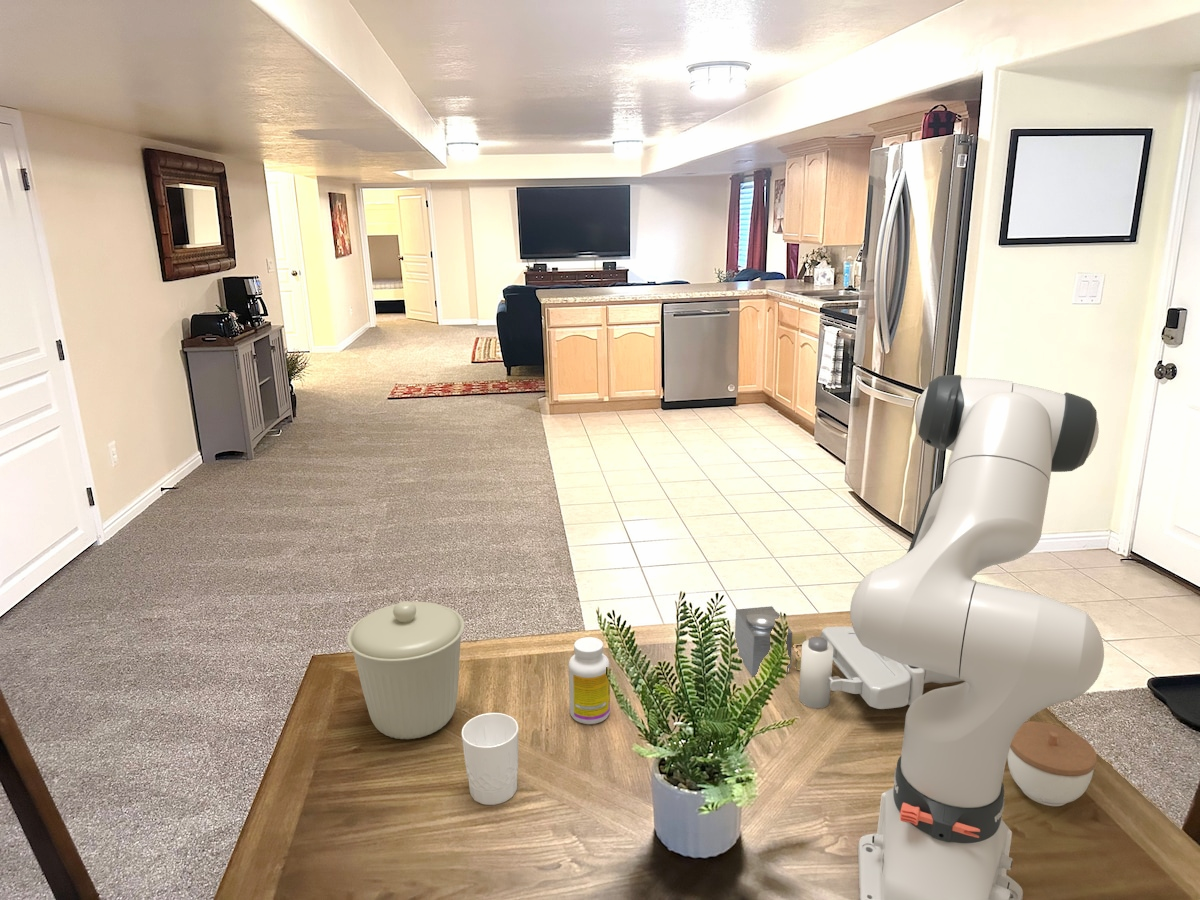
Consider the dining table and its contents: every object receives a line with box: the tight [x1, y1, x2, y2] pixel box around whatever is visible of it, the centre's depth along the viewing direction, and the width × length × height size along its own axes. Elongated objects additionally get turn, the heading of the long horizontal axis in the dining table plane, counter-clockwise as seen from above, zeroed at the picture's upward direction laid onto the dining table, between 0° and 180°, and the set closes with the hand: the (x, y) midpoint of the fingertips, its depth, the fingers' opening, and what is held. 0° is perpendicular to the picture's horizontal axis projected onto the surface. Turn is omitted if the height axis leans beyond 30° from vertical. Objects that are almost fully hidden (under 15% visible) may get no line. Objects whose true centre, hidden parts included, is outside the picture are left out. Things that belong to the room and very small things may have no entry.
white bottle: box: [798, 636, 834, 710], centre depth 133 cm, size 5×5×11 cm
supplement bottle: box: [568, 636, 611, 725], centre depth 130 cm, size 7×7×13 cm
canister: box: [346, 600, 466, 740], centre depth 128 cm, size 18×18×21 cm
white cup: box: [461, 712, 519, 806], centre depth 114 cm, size 8×8×10 cm
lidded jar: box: [1007, 721, 1098, 807], centre depth 112 cm, size 11×11×9 cm
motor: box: [734, 605, 807, 678], centre depth 147 cm, size 13×14×9 cm
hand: (817, 668), depth 133 cm, fingers open, 8 cm apart
